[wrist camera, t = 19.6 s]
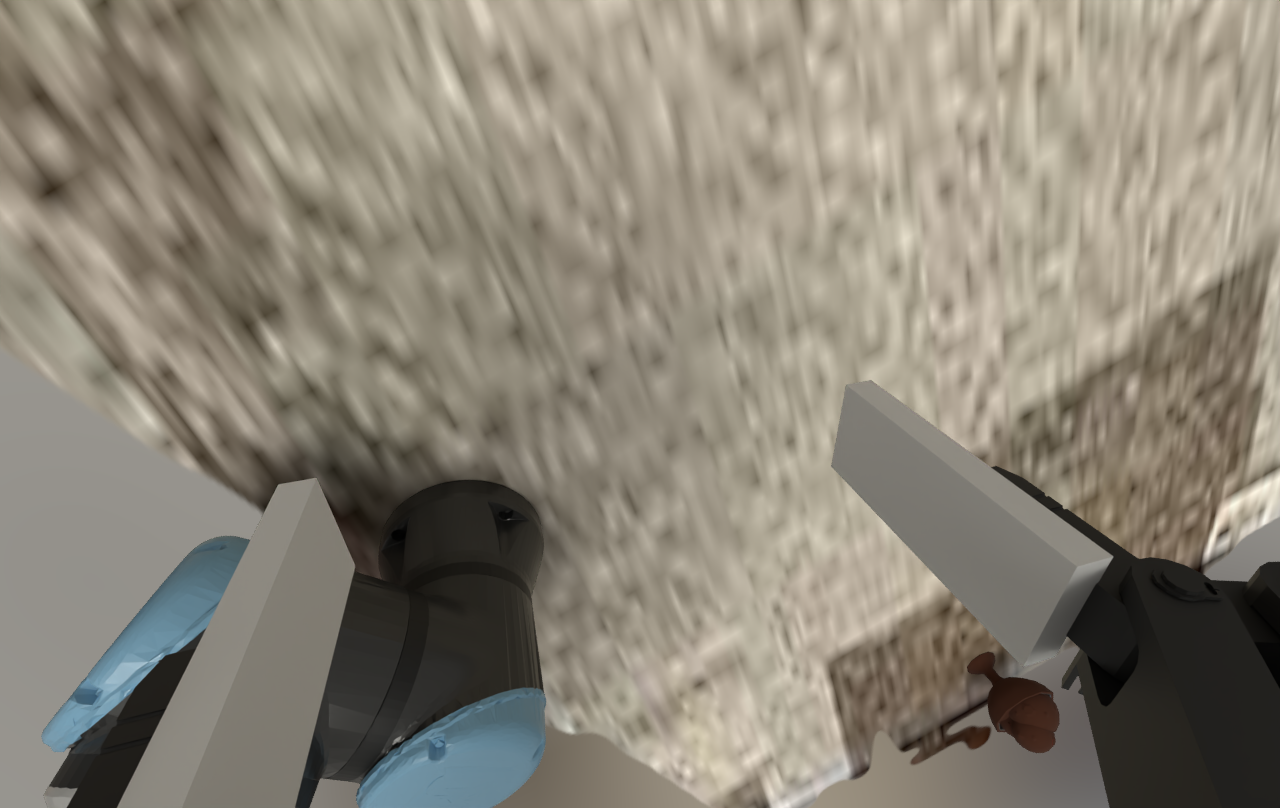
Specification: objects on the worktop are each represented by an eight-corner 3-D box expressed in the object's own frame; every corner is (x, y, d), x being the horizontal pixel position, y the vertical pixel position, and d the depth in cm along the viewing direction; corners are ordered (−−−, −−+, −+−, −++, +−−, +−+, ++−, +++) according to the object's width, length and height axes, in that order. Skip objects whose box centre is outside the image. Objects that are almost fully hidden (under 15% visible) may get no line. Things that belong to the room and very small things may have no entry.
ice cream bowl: (978, 683, 101) (1049, 766, 89) (942, 678, 97) (1012, 766, 84) (1017, 645, 98) (1097, 726, 85) (982, 639, 93) (1061, 724, 81)
